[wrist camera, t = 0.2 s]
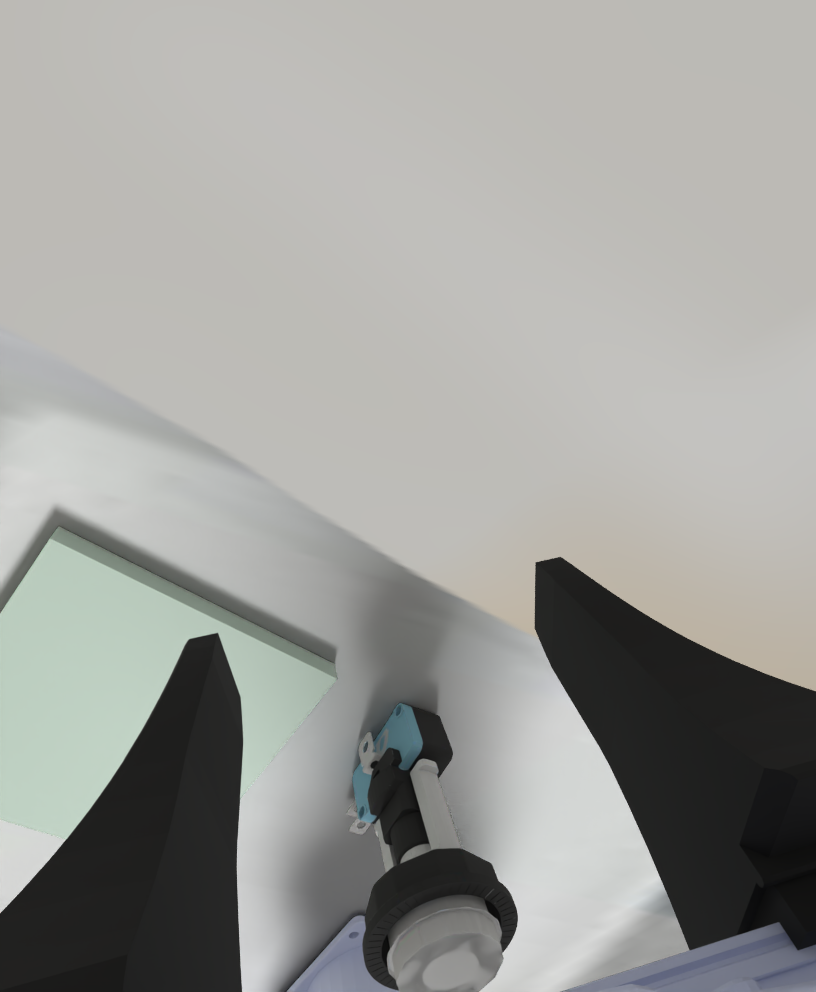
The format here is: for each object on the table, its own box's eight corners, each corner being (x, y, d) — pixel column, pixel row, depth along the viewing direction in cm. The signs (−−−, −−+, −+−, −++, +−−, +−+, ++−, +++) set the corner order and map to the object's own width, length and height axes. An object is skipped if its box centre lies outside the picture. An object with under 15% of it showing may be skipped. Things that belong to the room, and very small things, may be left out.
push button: (397, 817, 31) (454, 1056, 22) (299, 793, 29) (318, 1043, 20) (467, 715, 30) (559, 926, 20) (369, 682, 28) (423, 899, 19)
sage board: (182, 853, 29) (179, 873, 28) (-100, 764, 24) (-114, 785, 23) (334, 664, 27) (337, 678, 26) (58, 526, 22) (49, 538, 21)
